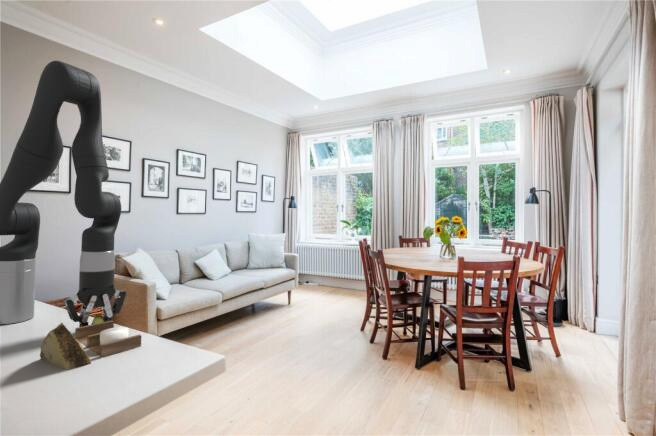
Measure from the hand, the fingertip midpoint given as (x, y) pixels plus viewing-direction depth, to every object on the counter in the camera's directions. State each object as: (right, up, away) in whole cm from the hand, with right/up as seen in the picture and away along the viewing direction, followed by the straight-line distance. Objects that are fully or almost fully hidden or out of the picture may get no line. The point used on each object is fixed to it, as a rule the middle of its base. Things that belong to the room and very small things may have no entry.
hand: (95, 333), depth 87 cm
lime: (0, 0, 0) cm, 0 cm away
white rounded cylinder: (+11, 0, -10) cm, 15 cm away
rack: (+8, -1, -8) cm, 11 cm away
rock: (+6, -1, -18) cm, 19 cm away
